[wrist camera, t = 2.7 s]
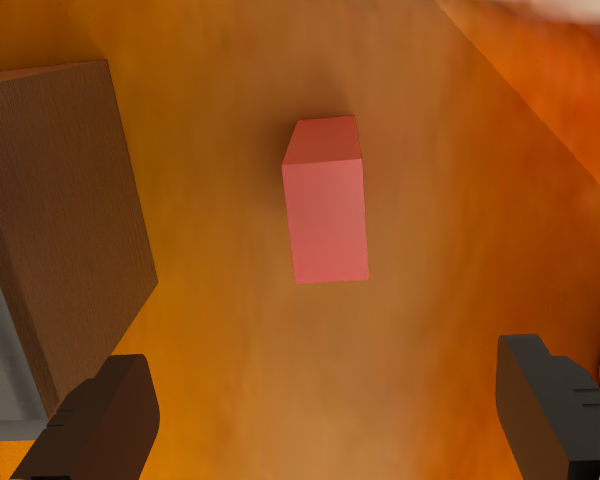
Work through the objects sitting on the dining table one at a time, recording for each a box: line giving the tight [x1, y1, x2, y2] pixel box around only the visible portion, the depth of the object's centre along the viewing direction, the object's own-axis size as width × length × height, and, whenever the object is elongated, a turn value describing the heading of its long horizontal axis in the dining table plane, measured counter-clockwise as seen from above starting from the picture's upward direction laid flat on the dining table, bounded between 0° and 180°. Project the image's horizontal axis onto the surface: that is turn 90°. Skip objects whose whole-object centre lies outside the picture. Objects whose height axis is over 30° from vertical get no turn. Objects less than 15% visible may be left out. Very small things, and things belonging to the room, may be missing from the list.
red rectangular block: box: [281, 115, 369, 284], centre depth 25 cm, size 3×5×9 cm, turn 6°
